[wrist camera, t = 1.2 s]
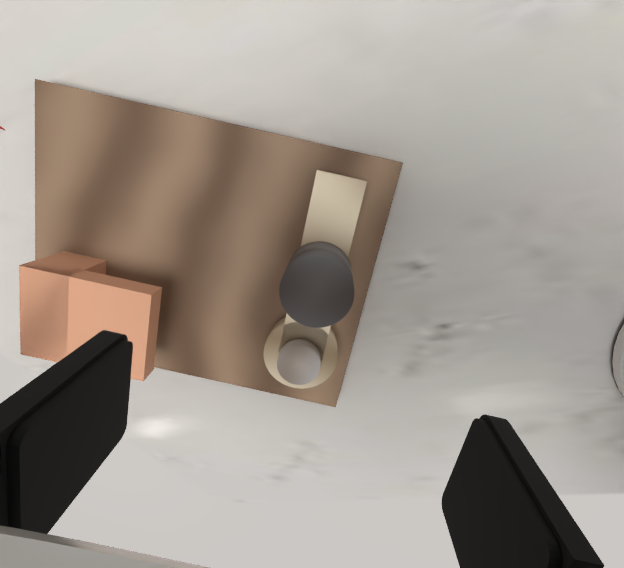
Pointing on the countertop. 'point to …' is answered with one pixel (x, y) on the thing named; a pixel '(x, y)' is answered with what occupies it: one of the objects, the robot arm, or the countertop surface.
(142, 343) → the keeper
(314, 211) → the link
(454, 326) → the countertop surface
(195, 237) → the board
